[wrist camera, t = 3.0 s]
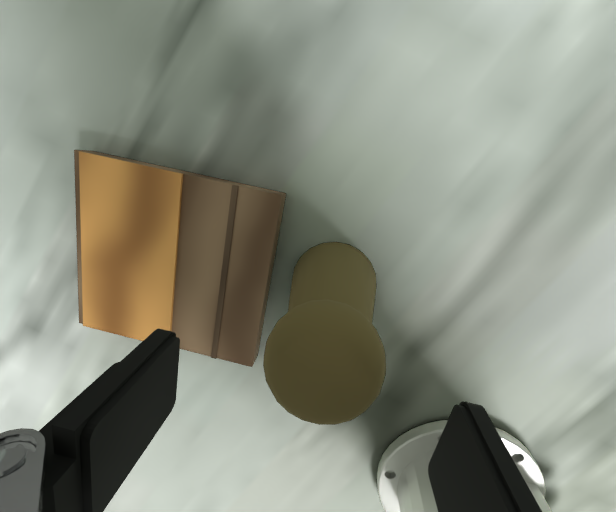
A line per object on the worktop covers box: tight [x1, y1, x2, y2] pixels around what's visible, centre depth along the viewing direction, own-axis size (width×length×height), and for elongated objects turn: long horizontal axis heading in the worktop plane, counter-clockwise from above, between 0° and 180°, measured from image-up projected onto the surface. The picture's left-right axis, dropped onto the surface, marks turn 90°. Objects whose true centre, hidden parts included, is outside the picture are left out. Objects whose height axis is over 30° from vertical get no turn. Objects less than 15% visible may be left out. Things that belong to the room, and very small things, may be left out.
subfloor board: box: [74, 150, 286, 367], centre depth 22 cm, size 14×13×2 cm
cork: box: [263, 242, 386, 424], centre depth 17 cm, size 6×6×11 cm
